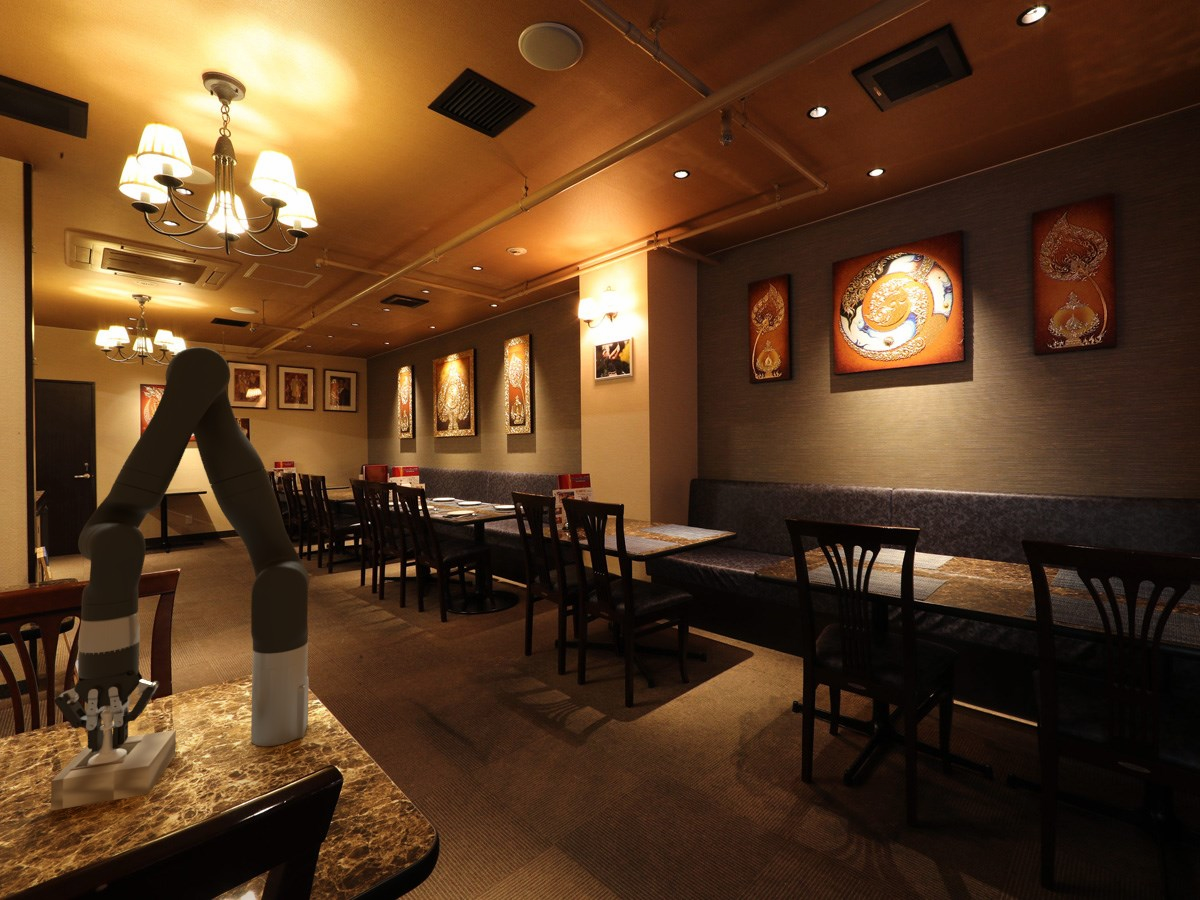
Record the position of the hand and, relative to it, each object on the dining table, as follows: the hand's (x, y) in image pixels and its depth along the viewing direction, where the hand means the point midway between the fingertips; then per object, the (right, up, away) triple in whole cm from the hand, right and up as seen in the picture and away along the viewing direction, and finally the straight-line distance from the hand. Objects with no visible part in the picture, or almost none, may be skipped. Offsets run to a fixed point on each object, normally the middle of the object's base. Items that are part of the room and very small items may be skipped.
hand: (107, 747), depth 91 cm
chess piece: (0, -2, 0) cm, 2 cm away
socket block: (+1, -6, 0) cm, 6 cm away
